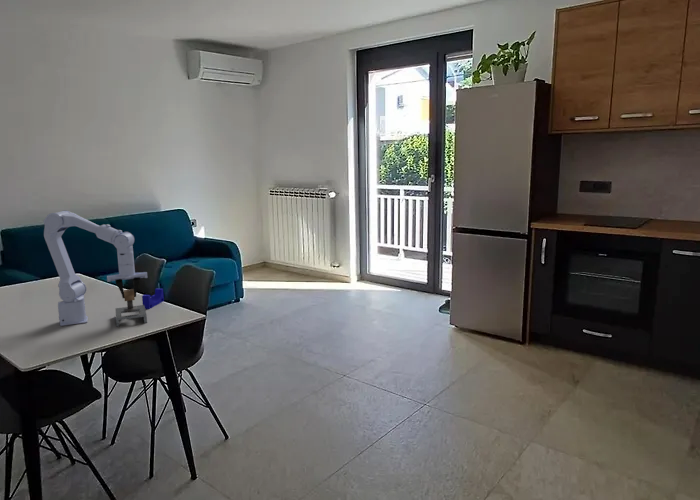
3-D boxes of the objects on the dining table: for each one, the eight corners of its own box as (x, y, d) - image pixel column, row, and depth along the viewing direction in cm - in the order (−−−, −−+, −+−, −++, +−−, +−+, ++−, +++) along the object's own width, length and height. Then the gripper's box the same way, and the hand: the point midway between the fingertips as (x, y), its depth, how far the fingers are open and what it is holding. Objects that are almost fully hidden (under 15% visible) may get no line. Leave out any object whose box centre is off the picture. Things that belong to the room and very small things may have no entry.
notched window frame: (116, 326, 196) (115, 318, 195) (116, 316, 209) (115, 308, 208) (147, 322, 201) (146, 314, 200) (144, 312, 213) (144, 304, 212)
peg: (123, 313, 199) (122, 292, 197) (123, 309, 203) (121, 290, 202) (137, 311, 201) (135, 291, 199) (137, 308, 205) (135, 288, 204)
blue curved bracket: (154, 300, 231) (153, 288, 229) (164, 301, 230) (163, 288, 229) (139, 308, 219) (138, 295, 218) (149, 309, 218) (148, 295, 217)
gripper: (105, 267, 192) (109, 302, 194) (146, 263, 198) (149, 297, 200) (105, 263, 198) (109, 297, 201) (145, 260, 204) (148, 292, 207)
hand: (129, 297), depth 201 cm, fingers closed on peg, 4 cm apart
